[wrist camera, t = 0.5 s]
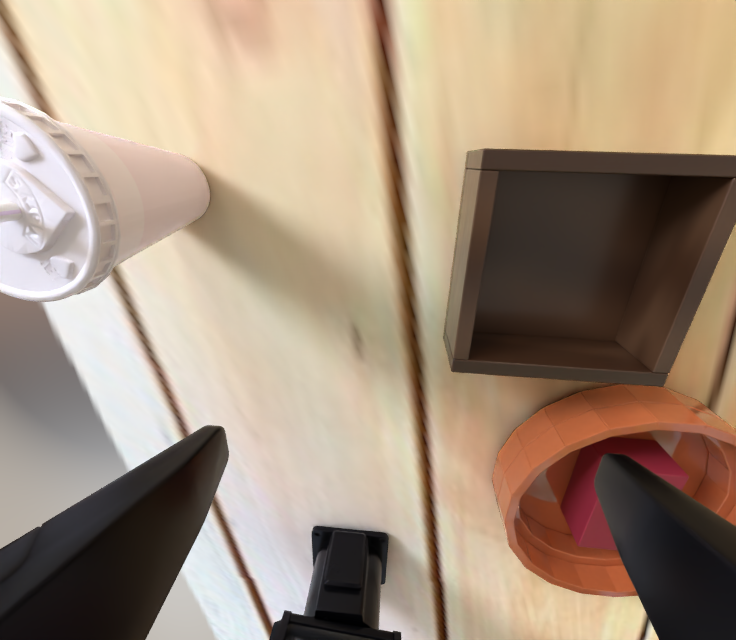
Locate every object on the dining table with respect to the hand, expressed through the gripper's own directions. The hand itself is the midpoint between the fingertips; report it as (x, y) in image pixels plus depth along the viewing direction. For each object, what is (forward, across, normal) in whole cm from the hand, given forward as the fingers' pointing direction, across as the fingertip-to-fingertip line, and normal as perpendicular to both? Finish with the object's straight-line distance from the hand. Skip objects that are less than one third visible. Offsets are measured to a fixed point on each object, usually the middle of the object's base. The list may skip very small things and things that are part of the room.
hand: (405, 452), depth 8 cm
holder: (+14, -8, -2) cm, 16 cm away
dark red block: (+13, -15, +13) cm, 24 cm away
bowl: (+14, -15, +13) cm, 24 cm away
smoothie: (+14, +13, -5) cm, 20 cm away
